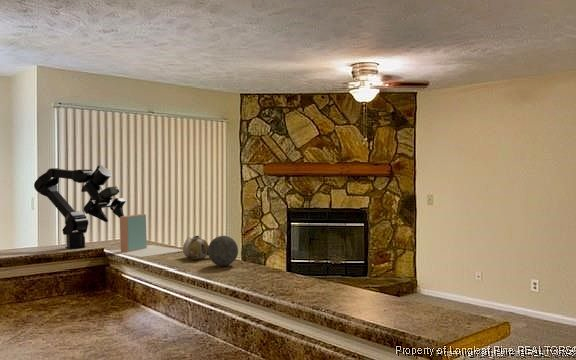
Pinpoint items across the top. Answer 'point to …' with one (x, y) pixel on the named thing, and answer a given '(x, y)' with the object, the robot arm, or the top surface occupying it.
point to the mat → (149, 251)
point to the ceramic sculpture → (195, 248)
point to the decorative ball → (223, 250)
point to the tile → (133, 232)
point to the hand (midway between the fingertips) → (115, 220)
